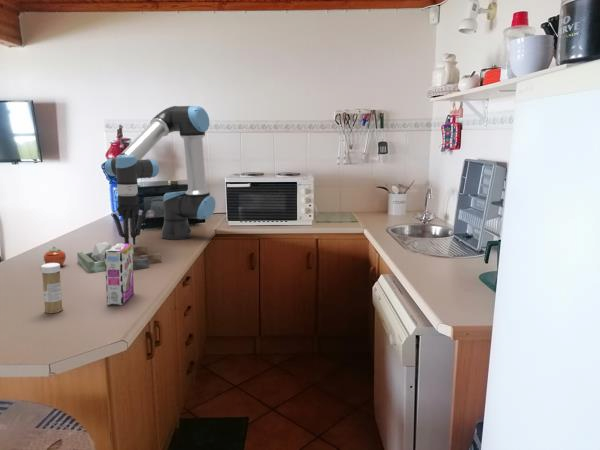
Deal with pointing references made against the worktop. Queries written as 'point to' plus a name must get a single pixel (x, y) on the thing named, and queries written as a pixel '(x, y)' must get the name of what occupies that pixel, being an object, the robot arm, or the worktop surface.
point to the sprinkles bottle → (52, 287)
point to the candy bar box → (119, 273)
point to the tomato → (55, 256)
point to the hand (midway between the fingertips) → (130, 253)
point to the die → (100, 251)
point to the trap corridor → (92, 266)
